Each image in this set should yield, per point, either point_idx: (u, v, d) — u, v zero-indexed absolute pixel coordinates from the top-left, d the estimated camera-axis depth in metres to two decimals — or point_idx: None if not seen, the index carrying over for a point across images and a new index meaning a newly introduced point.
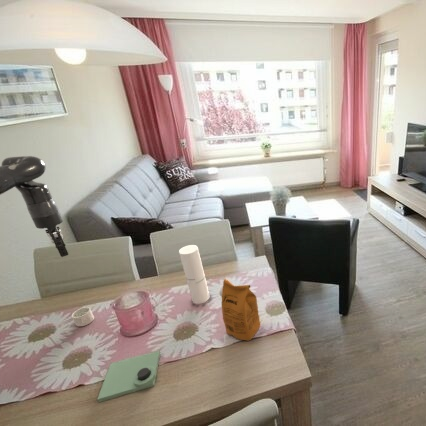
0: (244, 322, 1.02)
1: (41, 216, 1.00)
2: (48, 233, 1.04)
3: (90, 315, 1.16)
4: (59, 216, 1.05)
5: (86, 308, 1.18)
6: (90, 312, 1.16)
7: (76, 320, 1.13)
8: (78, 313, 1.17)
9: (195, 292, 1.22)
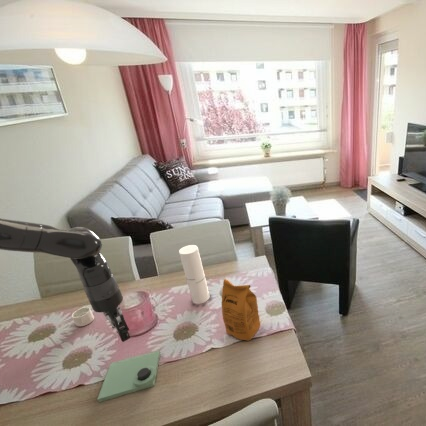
0: (244, 322, 1.02)
1: (102, 299, 0.82)
2: (107, 316, 0.86)
3: (90, 315, 1.16)
4: (120, 294, 0.87)
5: (86, 308, 1.18)
6: (90, 312, 1.16)
7: (76, 320, 1.13)
8: (78, 313, 1.17)
9: (195, 292, 1.22)
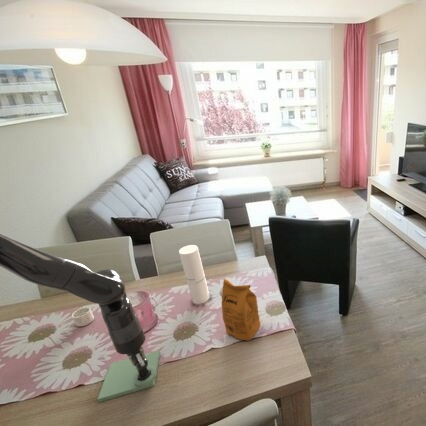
0: (244, 322, 1.02)
1: (125, 341, 0.81)
2: (131, 358, 0.85)
3: (90, 315, 1.16)
4: (143, 334, 0.86)
5: (86, 308, 1.18)
6: (90, 312, 1.16)
7: (76, 320, 1.13)
8: (78, 313, 1.17)
9: (195, 292, 1.22)
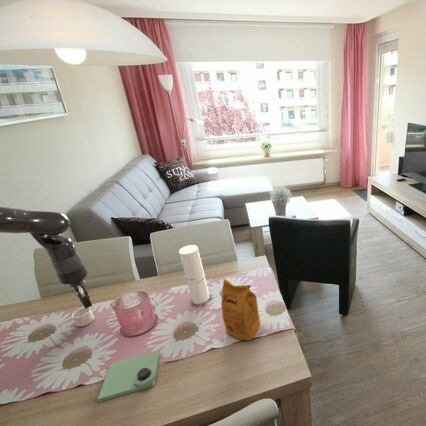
0: (244, 322, 1.02)
1: (66, 272, 0.96)
2: (73, 289, 1.00)
3: (90, 315, 1.16)
4: (84, 269, 1.00)
5: (86, 308, 1.18)
6: (90, 312, 1.16)
7: (76, 320, 1.13)
8: (78, 313, 1.17)
9: (195, 292, 1.22)
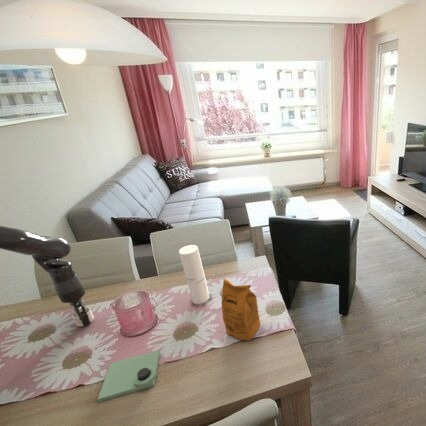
0: (244, 322, 1.02)
1: (66, 292, 1.07)
2: (72, 306, 1.11)
3: (90, 315, 1.16)
4: (82, 289, 1.12)
5: (86, 308, 1.18)
6: (90, 312, 1.16)
7: (76, 320, 1.13)
8: None
9: (195, 292, 1.22)
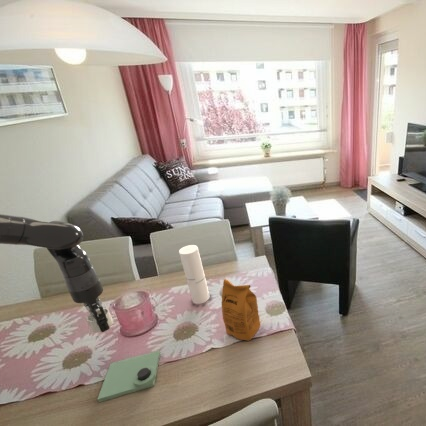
0: (244, 322, 1.02)
1: (81, 290, 0.85)
2: (87, 307, 0.88)
3: (109, 318, 0.94)
4: (100, 286, 0.89)
5: None
6: (109, 315, 0.93)
7: (92, 325, 0.91)
8: None
9: (195, 292, 1.22)
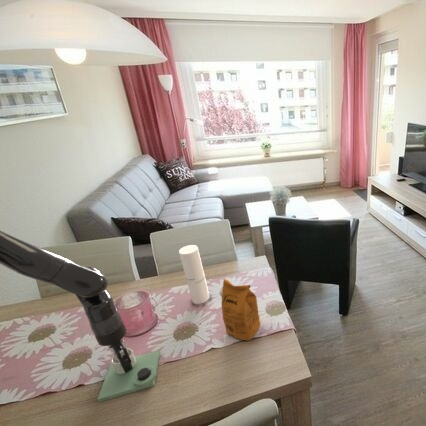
0: (244, 322, 1.02)
1: (106, 334, 0.86)
2: (111, 348, 0.89)
3: (133, 359, 0.95)
4: (123, 327, 0.90)
5: None
6: (132, 356, 0.95)
7: (117, 367, 0.92)
8: None
9: (195, 292, 1.22)
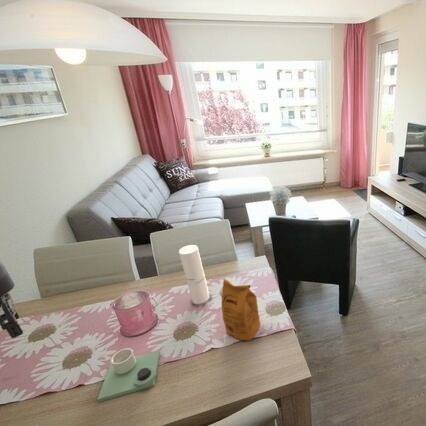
0: (244, 322, 1.02)
1: None
2: None
3: (133, 359, 0.95)
4: (8, 281, 0.73)
5: (127, 350, 0.97)
6: (132, 356, 0.95)
7: (117, 367, 0.92)
8: (118, 356, 0.96)
9: (195, 292, 1.22)
